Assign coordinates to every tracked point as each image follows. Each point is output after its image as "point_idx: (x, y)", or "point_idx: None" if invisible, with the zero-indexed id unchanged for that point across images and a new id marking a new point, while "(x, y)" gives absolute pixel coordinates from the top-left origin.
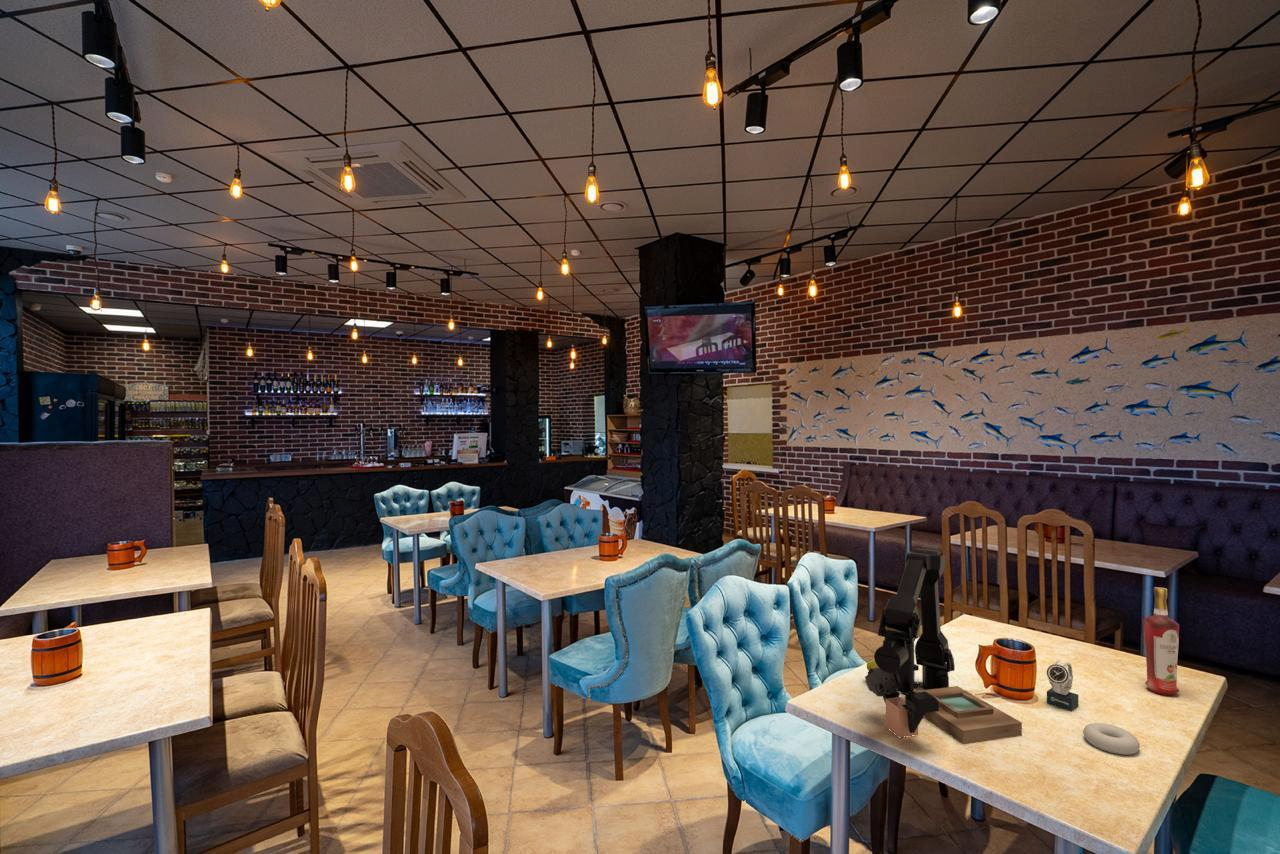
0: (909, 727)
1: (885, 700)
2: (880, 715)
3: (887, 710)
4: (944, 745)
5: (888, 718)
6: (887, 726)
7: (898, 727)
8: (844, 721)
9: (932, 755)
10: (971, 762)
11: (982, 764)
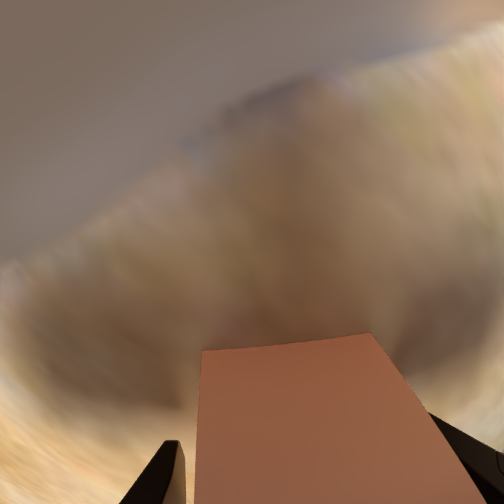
0: (158, 468)
1: (500, 471)
2: (477, 358)
3: (417, 446)
4: (119, 483)
5: (372, 397)
6: (358, 346)
7: (209, 408)
8: (501, 85)
9: (16, 395)
10: (13, 466)
11: (13, 478)
